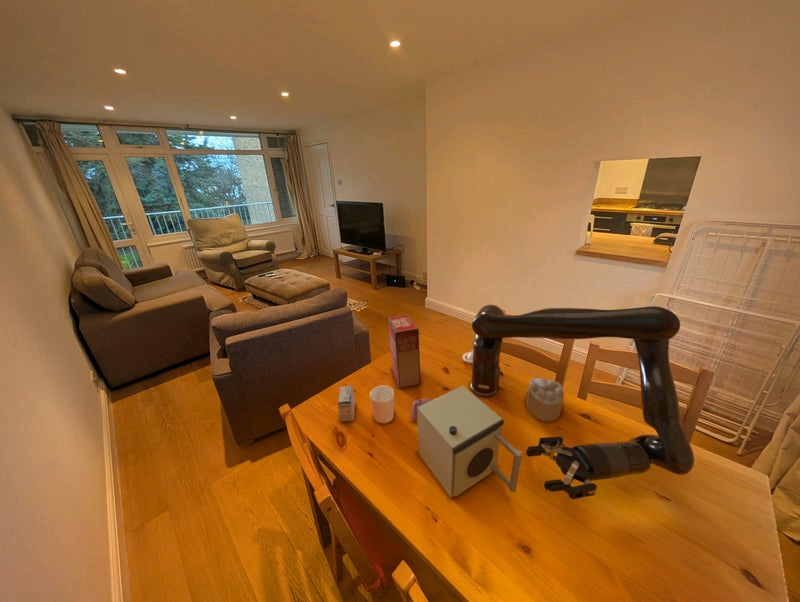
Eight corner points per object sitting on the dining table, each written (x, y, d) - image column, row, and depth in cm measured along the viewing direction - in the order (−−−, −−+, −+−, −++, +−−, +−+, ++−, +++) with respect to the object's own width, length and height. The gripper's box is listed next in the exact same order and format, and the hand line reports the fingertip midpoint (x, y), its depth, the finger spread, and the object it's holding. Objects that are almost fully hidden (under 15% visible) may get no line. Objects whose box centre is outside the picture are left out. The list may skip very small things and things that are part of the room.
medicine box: (343, 405, 106) (339, 386, 102) (355, 404, 106) (352, 385, 102) (340, 422, 99) (337, 402, 95) (354, 421, 99) (351, 401, 95)
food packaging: (391, 368, 124) (387, 316, 114) (412, 364, 126) (410, 312, 116) (398, 389, 112) (394, 332, 102) (422, 384, 114) (420, 328, 104)
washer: (460, 430, 93) (463, 382, 85) (497, 468, 81) (504, 417, 73) (418, 453, 86) (416, 404, 78) (452, 499, 74) (454, 446, 66)
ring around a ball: (465, 367, 122) (484, 366, 122) (466, 356, 120) (485, 354, 120) (460, 357, 129) (478, 355, 130) (460, 346, 127) (478, 344, 128)
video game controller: (441, 418, 100) (440, 398, 100) (441, 423, 95) (441, 402, 96) (412, 417, 101) (412, 397, 101) (411, 422, 96) (411, 401, 97)
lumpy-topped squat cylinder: (559, 398, 103) (563, 378, 100) (561, 425, 93) (566, 404, 89) (527, 391, 108) (530, 372, 104) (525, 416, 97) (529, 396, 93)
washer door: (493, 467, 80) (498, 428, 74) (518, 493, 73) (525, 452, 67) (453, 494, 74) (454, 454, 68) (476, 525, 67) (480, 483, 61)
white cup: (398, 410, 102) (397, 387, 98) (390, 427, 96) (388, 403, 91) (378, 405, 105) (375, 383, 101) (369, 422, 98) (366, 399, 94)
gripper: (618, 500, 66) (549, 509, 65) (578, 446, 79) (519, 453, 78) (627, 478, 63) (554, 487, 62) (584, 426, 76) (523, 432, 75)
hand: (535, 468), depth 70 cm, fingers open, 8 cm apart
